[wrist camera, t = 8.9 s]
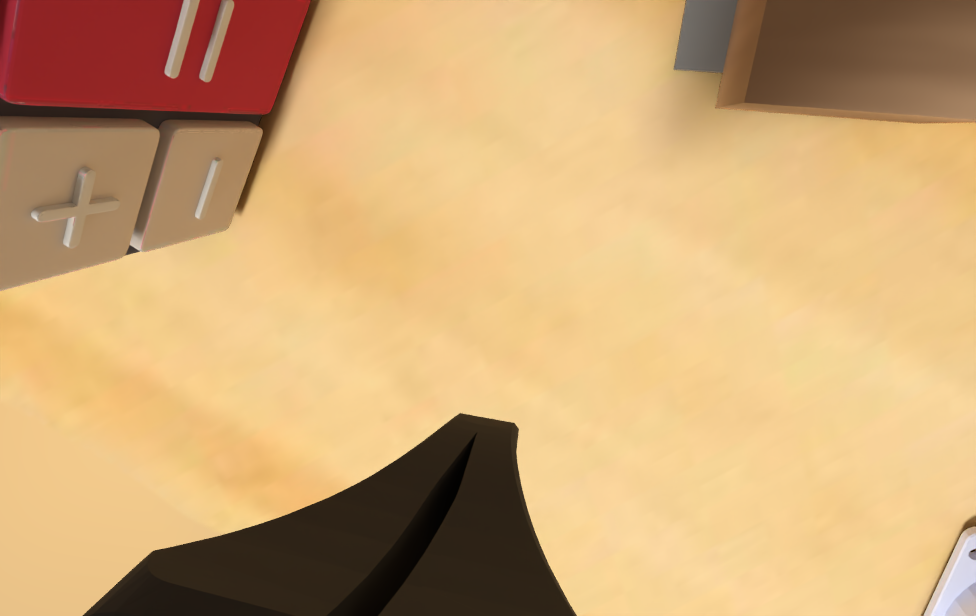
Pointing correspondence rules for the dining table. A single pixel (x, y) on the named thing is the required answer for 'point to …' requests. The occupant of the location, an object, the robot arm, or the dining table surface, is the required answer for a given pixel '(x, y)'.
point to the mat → (705, 35)
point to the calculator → (129, 123)
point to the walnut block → (853, 59)
